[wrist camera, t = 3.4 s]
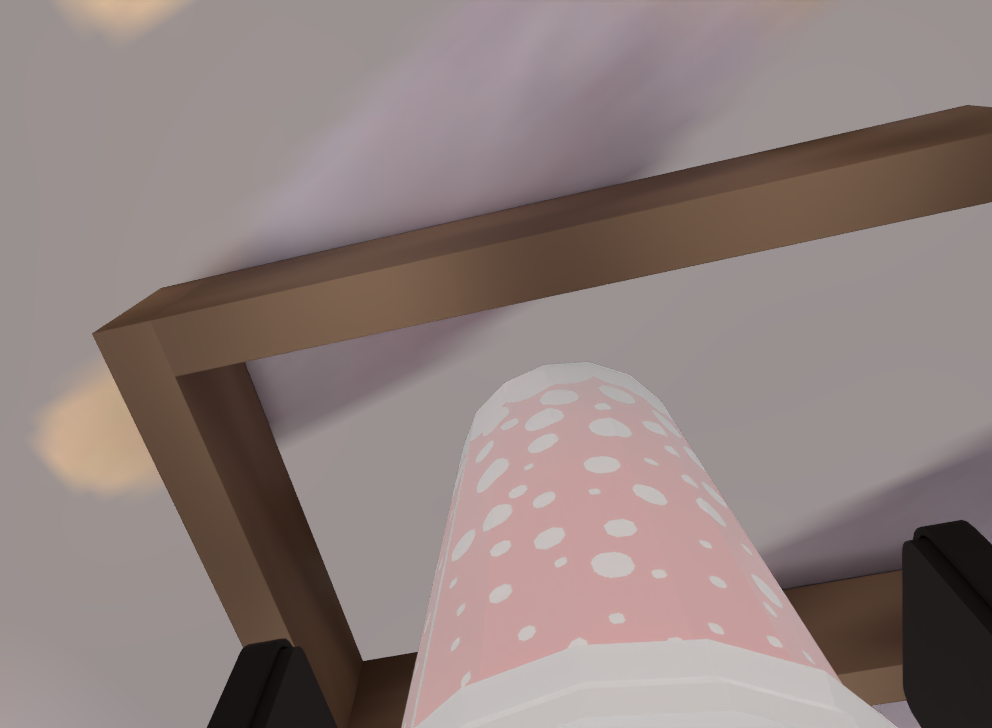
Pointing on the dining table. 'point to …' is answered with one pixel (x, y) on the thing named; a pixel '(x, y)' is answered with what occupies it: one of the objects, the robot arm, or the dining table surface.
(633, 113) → the dining table surface
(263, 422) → the frame
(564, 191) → the dining table surface
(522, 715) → the beverage cup
